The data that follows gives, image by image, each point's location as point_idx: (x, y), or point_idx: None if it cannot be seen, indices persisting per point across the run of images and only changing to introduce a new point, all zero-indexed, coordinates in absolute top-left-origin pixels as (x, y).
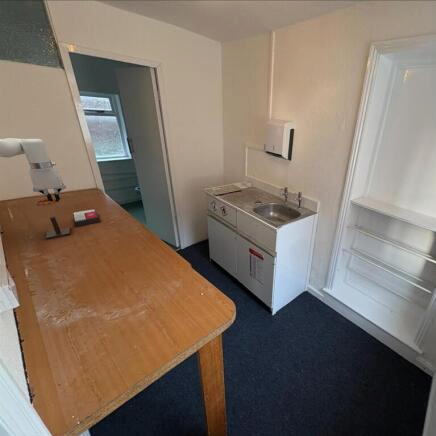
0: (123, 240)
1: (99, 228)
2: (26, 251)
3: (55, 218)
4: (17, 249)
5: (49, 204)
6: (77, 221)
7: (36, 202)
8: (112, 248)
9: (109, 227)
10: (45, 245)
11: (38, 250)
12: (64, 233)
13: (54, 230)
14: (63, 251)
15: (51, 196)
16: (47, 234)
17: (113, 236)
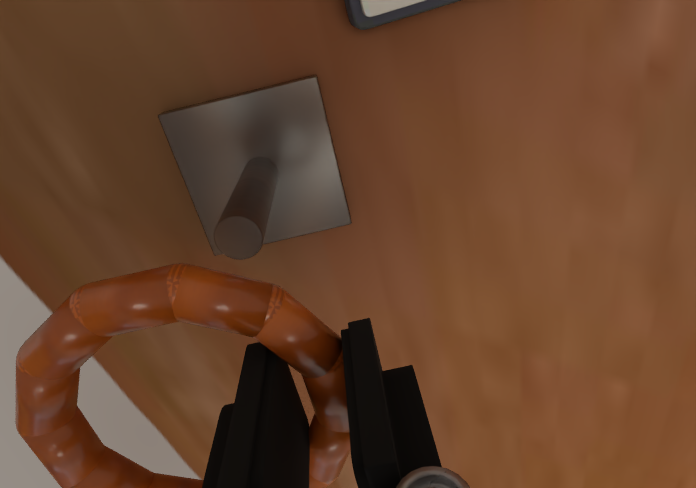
0: (649, 397)
1: (542, 156)
2: (188, 381)
3: (265, 227)
4: (118, 343)
5: None
6: (383, 18)
7: (74, 477)
8: (588, 458)
9: (612, 162)
10: None
11: None
12: (318, 216)
13: (211, 115)
14: None
15: (273, 435)
16: (195, 193)
17: (612, 333)
